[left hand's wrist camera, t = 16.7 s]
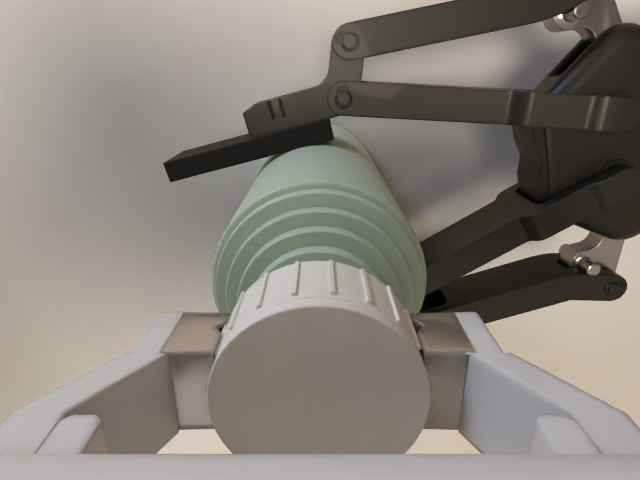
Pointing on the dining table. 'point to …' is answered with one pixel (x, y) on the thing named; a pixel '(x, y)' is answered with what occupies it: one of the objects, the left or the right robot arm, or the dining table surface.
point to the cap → (318, 366)
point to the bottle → (320, 223)
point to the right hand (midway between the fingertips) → (206, 239)
